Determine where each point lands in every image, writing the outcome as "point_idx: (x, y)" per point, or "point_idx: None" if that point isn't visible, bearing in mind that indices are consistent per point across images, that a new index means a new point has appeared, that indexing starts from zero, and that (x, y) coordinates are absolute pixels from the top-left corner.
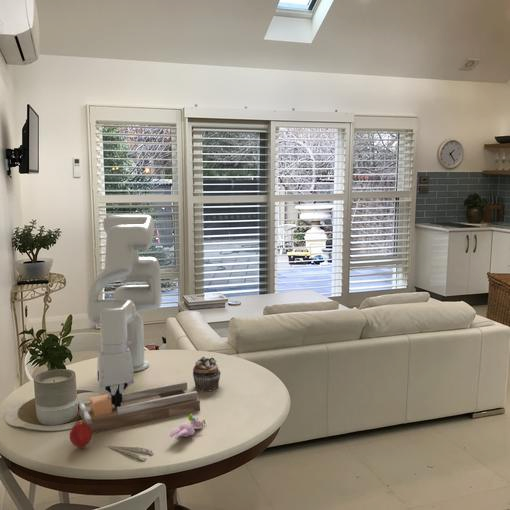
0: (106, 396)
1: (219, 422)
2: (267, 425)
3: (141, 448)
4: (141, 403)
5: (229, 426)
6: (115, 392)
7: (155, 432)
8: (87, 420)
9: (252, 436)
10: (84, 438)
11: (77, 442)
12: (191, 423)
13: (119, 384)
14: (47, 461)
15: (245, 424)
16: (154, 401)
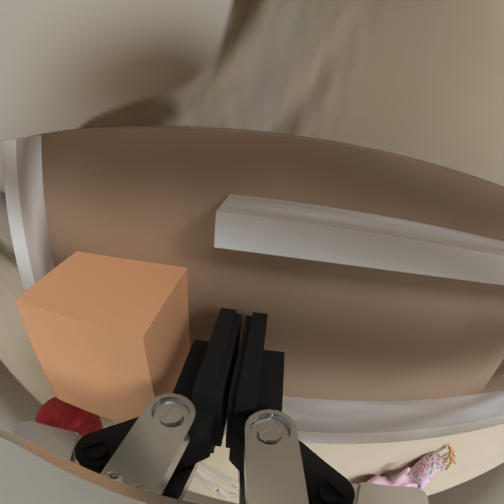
0: (133, 376)
1: (476, 448)
2: (498, 464)
3: (237, 489)
4: (363, 443)
5: (468, 462)
6: (203, 453)
7: (325, 451)
8: None
9: (451, 486)
10: None
11: None
12: (412, 480)
13: (264, 489)
14: (28, 387)
15: (488, 459)
16: (431, 434)
